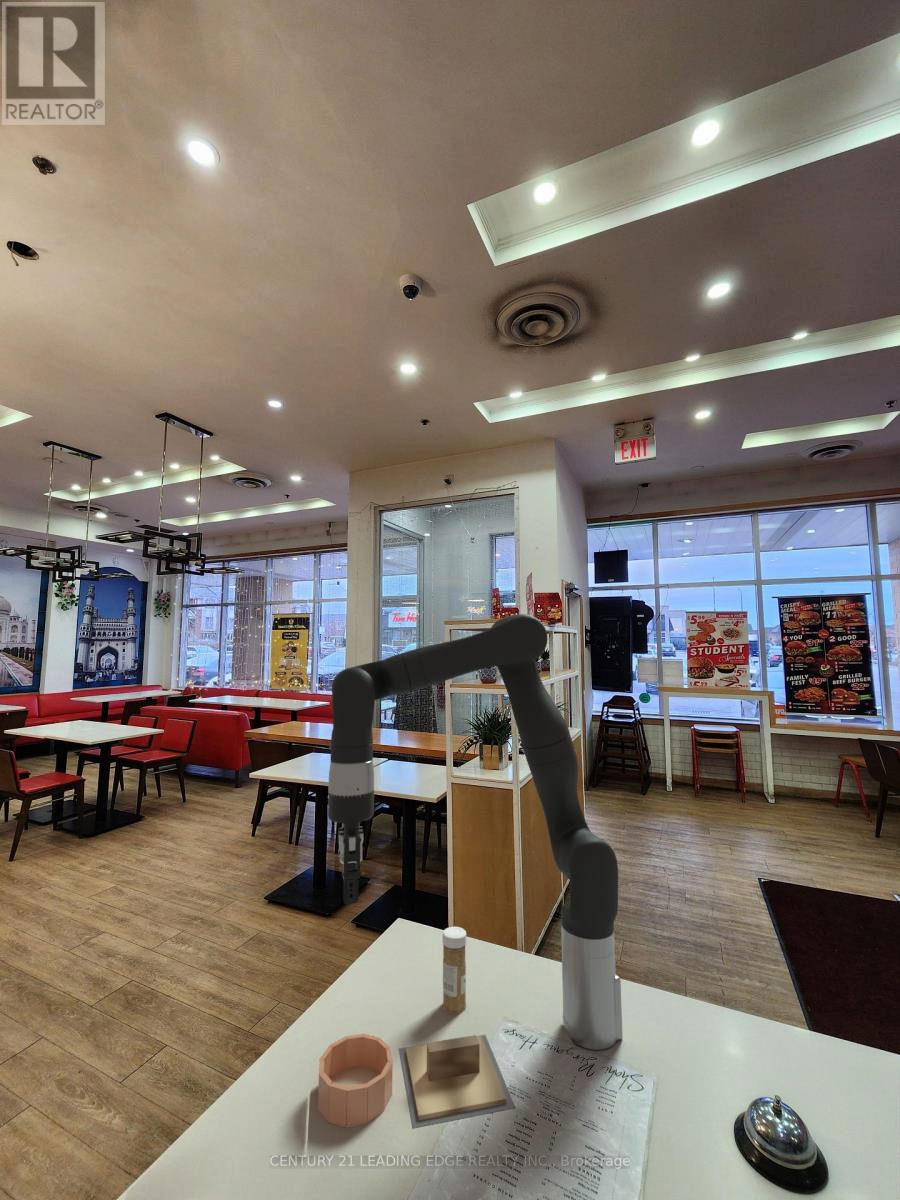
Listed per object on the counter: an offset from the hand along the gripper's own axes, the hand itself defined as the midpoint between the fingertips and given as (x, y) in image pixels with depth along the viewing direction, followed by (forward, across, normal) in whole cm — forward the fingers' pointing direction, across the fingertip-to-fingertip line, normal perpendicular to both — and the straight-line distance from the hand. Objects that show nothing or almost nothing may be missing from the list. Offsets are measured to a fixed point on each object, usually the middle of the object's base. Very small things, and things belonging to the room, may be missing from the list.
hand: (350, 890), depth 83 cm
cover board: (+27, -4, -16) cm, 32 cm away
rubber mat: (+28, -4, -16) cm, 32 cm away
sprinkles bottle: (+28, +12, -20) cm, 36 cm away
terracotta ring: (+27, -4, -1) cm, 28 cm away
